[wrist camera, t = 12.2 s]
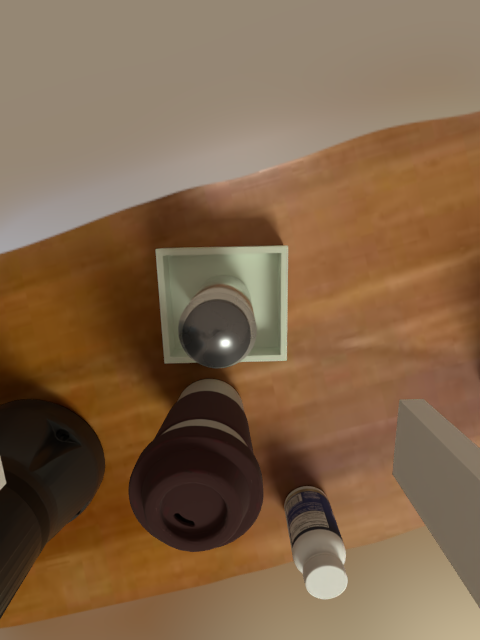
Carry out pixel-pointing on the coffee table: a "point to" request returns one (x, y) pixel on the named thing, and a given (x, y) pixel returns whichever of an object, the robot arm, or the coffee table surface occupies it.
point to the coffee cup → (199, 472)
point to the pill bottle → (316, 542)
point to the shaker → (218, 323)
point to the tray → (238, 261)
